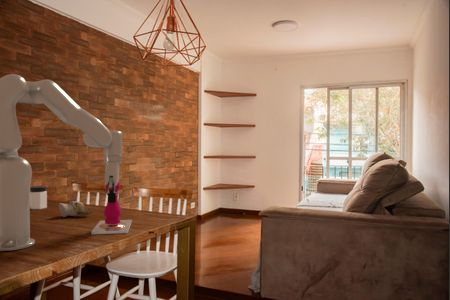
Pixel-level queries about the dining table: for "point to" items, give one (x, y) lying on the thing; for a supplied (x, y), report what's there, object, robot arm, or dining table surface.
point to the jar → (38, 197)
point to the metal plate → (112, 227)
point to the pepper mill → (113, 208)
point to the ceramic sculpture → (73, 209)
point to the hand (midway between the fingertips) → (112, 201)
